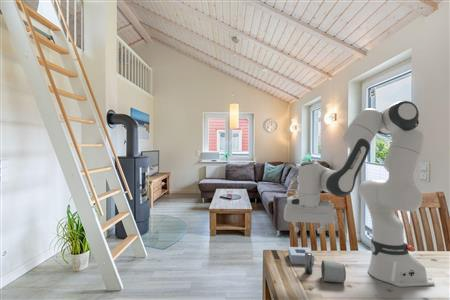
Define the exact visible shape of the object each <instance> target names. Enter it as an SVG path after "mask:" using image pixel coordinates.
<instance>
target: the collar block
mask: <svg viewBox="0 0 450 300" xmlns="http://www.w3.org/2000/svg"><path fill="white" fill-rule="evenodd" d="M287 247H288V248H287V254H288V255H289V256H288V258H289V261H290V263H291V264H292V265H305V253H306V252H309V253H312V266H314V265H315V255H314V253H313V252H312V250H311V248H310V247H305V246H304V247H299V246H287Z"/></svg>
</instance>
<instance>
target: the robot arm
mask: <svg viewBox="0 0 450 300" xmlns="http://www.w3.org/2000/svg"><path fill="white" fill-rule="evenodd" d="M419 116H420V113H419V109H418V107H417V105H416V104H415V103H413V101H409V100H402V101H401V100H400V101H397V102H394V103H393V104H392V105H390V106H388V107H386V108H385V109H384V110H382V111H378V110H377V109H375V108H364V109H362V110H361V111H360V112H359V113H358V114H357V115H356V116H355V118H354V119H353V120H352V121H351V123H350V124H349V125H348V127H347V128H346V130H345V132H344V134H343V136H342V139H343V143H344V145H345V146H346V147H347V148H348V149H349V153H348V155H347V156H346V159H345V161H344V162H343V165H342V166H341V167H340V168H339V169H337V170H335V169H334V170H333V169H330V168H328V167H325V166H323V165H321V164H320V163H319V162H318V161H314V160H313V161H311V160H310V161H305V162H302V163H301V164H299V167H298V174H297V175H298V176H297V183H298V190H297V194H295V195H290V196H287V198H286V202H287V203H285V206H284V209H283V219H284V221H285V222H290V223H291V224H292V225H293V227H294V233H299V231H300V229H299V228H300V227H298V226H297V223H311V224H313V223H314V224H316V223H317V224H319V225H320V226H319V228H317V231H316V232H317V233H316V234H323V229H324V228H325V225H326V224H333V223H334V221H335V217H334V210H335V204H334V202H333V201H331V200H327V199H326V200H323V199H320V198H321V196H320V192H321V191H323V192H325V193H328V194H331V195H333V196H336V197H338V198H345V197H347V196H349V195H350V194H351V193H352V192H353V190H354V189H355V185H356V180H357V177H358V175H359V173H360V170H361V169H362V167H363V165H364V163H365V161H366V159H367V157H368V155H369V151H370V148H371V143H372V141H373V140H374V138H375V137H376V135H377V134H380V135H385V136H389V135H391V144H390V145H389V148H388V149H387V152H386V155H385V157H384V160H383V162H382V163H383V167H384V169H385V171H386V172H388V178H387V180H381V179H377V178H376V179H367V180H364V181H362V182H360V185H359V186H358V195H359V197H360V199H361V200H362V201H363V202H364V203H365V206H366V207H367V210H368V213H369V215H370V218H371V233H372V235H371V241H370V251H371V255H370V262H369V266H368V269H367V272H368V274H369V275H370V276H371V277H374V278H375V279H377V280H379V281H382V282H386V283H389V284H392V285H394V286H396V287H399V288H402V287H405V288H407V287H424V286H434V285H435V282H434V280H433V278H432V277H431V276H430V275H429V274H427V270H426V267H425V265H424V264H423V263H422V262H421V261H420V260H419V259H417V257H415V256H414V255H413V254H412V253H413V252H414V251H415V247H414V246H412V245H410V244H407V243H406V242H404V235H405V234H404V232H405V231H404V229H405V228H404V224H403V222H402V220H400V218H399V217H398V215H396V214H395V211H399V212H415V211H417V210H419V208H421V206H422V204H423V199H424V198H423V193H422V192H421V190H420V189H419V187H418V186H417V185H416V183H415V177H414V176H415V175H414V174H415V170H416V166H417V163H418V160H419V159H420V155H421V151H422V147H423V145H424V144H423V143H424V133H423V131H421V130H420V129H418V128H417V127H418V125H419V123H420V122H419ZM410 252H411V253H410Z"/></svg>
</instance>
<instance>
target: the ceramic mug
mask: <svg viewBox="0 0 450 300" xmlns="http://www.w3.org/2000/svg"><path fill="white" fill-rule="evenodd" d="M320 268H321V269H320V271H321V273H320V274H321V279H322V281H323V282H328V283H329V282H330V283H344V282H345V281H346V278H347V272H346V271H347V270H346V266H345V265H344V264H343V263H342V262H339V261H331V260H326V259H325V260H324V259H323V260H322V261H321V264H320Z"/></svg>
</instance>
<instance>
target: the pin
mask: <svg viewBox="0 0 450 300" xmlns="http://www.w3.org/2000/svg"><path fill="white" fill-rule="evenodd" d="M312 253H313V252H312ZM312 253H309V252H306V253H305V264H304V273H305V274H306V275H312V274H313V265H312Z"/></svg>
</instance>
